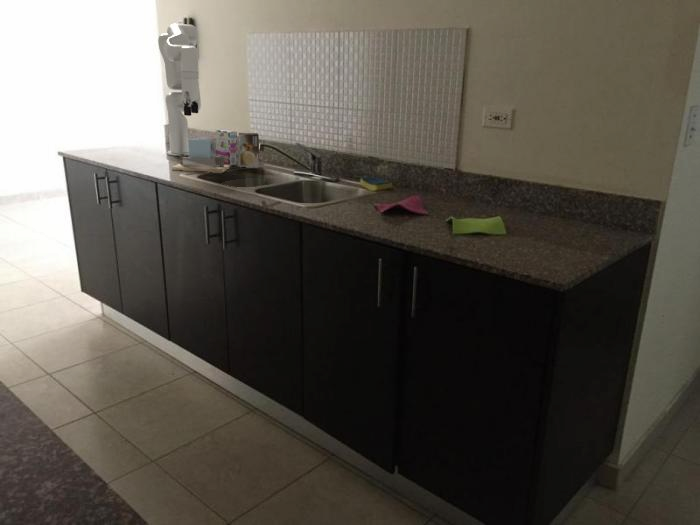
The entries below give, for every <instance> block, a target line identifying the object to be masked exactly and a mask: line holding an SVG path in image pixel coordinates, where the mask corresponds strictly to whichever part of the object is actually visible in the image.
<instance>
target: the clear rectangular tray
mask: <svg viewBox="0 0 700 525" xmlns="http://www.w3.org/2000/svg"><path fill="white" fill-rule="evenodd" d="M213 157H215V159H206V158H190V157H189V155H187V157H186V156H184V154H183V153H180V156H179V163H178V164H175V165H173V166H171V170H172V171H179V170H183V171H182V172H194V171H208V172H207V173H210V172H212V174H222V173H224V172H226V171H228V170H229V169H231V168H232V166H231V165H229V164H224V156H220V157H218V156H216V155H213ZM230 167H231V168H230ZM227 169H228V170H227Z"/></svg>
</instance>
